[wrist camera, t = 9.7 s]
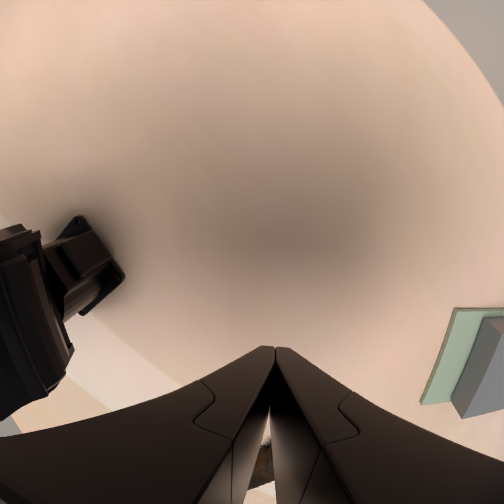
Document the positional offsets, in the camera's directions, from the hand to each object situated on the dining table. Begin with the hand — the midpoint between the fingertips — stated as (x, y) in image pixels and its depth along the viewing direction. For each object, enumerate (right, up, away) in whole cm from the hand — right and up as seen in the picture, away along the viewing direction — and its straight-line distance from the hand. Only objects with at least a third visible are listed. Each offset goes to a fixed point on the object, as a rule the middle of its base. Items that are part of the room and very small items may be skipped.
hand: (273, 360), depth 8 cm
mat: (+23, -7, +13) cm, 27 cm away
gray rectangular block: (+19, -7, +11) cm, 23 cm away
